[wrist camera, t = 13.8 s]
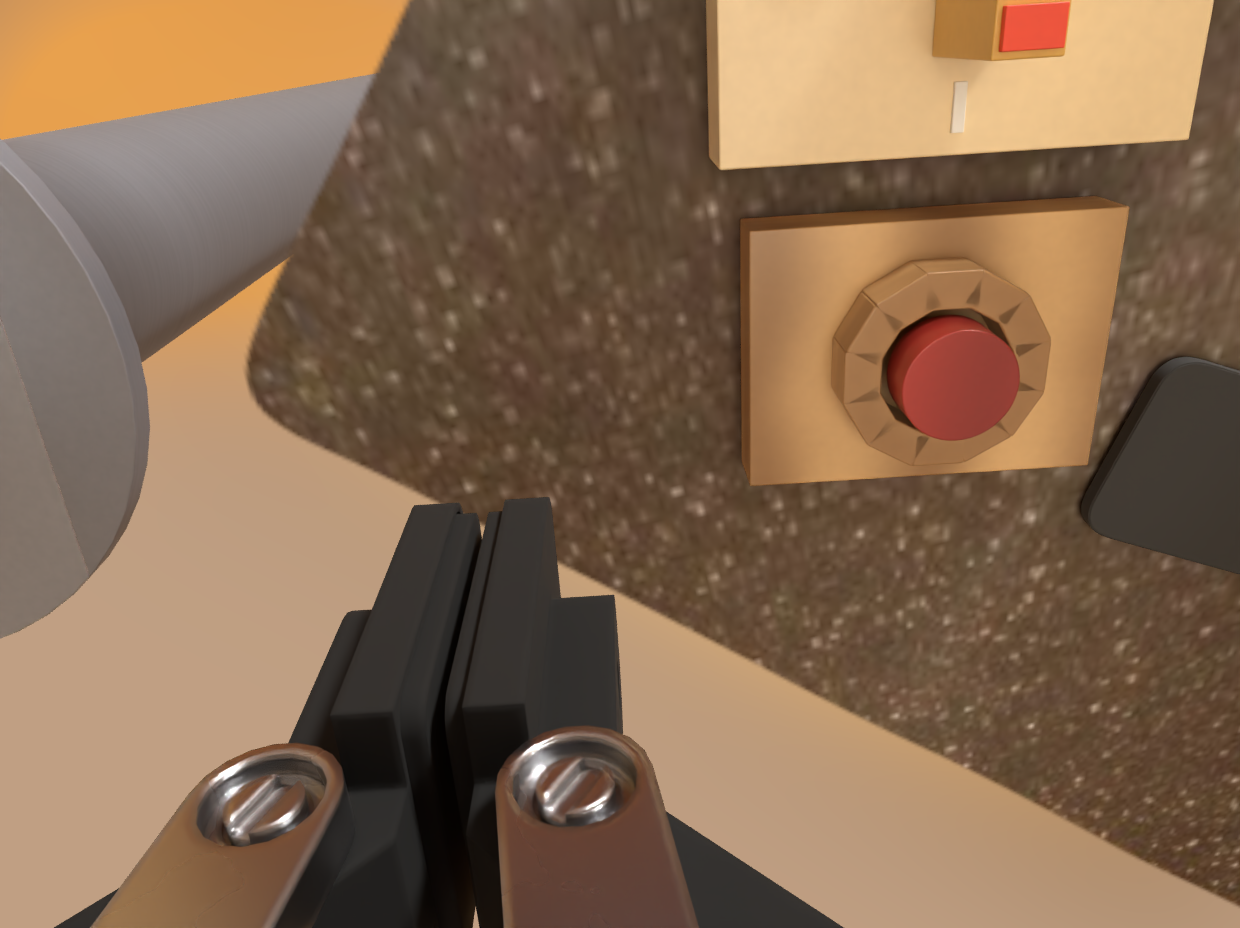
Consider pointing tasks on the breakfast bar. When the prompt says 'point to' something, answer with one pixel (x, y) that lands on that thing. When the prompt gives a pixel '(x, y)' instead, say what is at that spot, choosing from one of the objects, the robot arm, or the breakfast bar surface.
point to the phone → (1176, 468)
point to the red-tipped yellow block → (1000, 29)
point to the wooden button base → (899, 300)
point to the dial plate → (939, 82)
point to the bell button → (953, 377)
